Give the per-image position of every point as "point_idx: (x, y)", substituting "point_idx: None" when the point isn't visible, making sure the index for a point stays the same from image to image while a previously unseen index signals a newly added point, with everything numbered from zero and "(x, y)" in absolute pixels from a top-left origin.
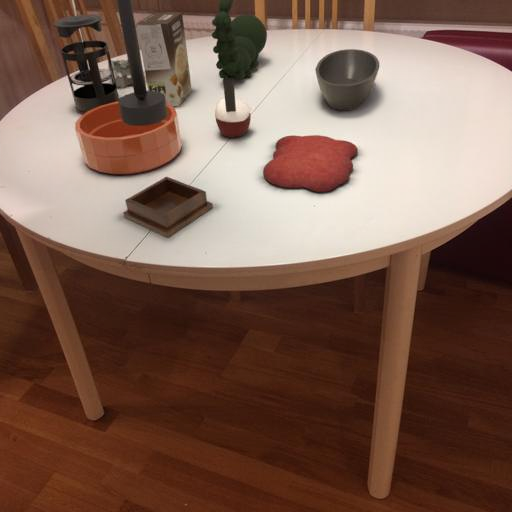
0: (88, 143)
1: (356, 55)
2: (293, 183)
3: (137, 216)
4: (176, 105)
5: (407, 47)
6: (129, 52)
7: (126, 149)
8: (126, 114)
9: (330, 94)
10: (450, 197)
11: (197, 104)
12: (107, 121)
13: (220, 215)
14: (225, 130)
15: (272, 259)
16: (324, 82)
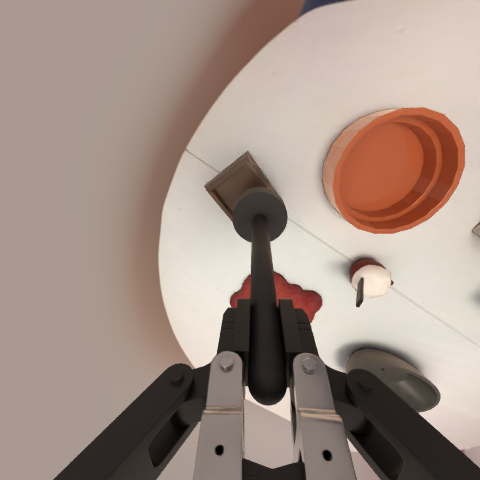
0: (363, 124)
1: (423, 403)
2: (243, 286)
3: (236, 164)
4: (474, 229)
5: (452, 435)
6: (253, 238)
7: (331, 169)
8: (242, 196)
9: (358, 357)
10: (203, 353)
11: (462, 251)
12: (442, 147)
13: (224, 228)
14: (356, 264)
15: (163, 247)
16: (367, 363)
